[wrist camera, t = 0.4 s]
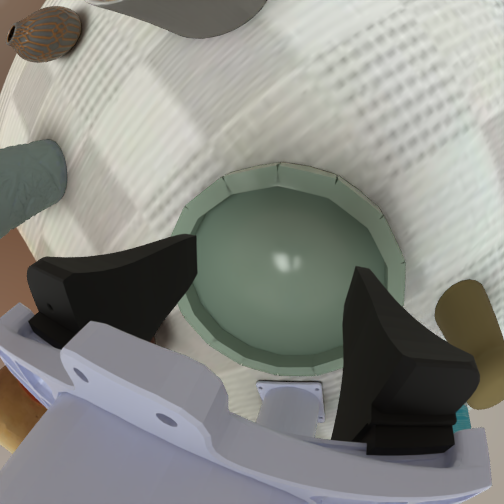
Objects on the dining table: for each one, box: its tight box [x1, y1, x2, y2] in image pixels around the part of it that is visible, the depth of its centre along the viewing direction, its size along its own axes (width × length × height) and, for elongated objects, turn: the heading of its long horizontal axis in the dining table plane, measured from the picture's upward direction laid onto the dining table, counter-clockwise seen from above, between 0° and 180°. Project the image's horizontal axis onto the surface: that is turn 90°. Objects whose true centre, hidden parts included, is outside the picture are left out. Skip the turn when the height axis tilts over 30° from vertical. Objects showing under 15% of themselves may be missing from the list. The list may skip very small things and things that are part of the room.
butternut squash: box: [0, 336, 156, 454], centre depth 22 cm, size 14×13×25 cm
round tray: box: [171, 162, 406, 376], centre depth 23 cm, size 20×20×2 cm
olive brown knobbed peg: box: [435, 280, 504, 410], centre depth 15 cm, size 6×6×11 cm
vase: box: [6, 6, 81, 63], centre depth 14 cm, size 7×7×9 cm
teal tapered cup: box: [0, 139, 67, 239], centre depth 21 cm, size 10×10×12 cm
